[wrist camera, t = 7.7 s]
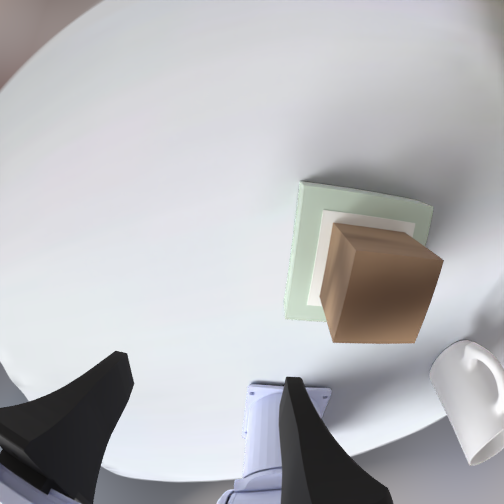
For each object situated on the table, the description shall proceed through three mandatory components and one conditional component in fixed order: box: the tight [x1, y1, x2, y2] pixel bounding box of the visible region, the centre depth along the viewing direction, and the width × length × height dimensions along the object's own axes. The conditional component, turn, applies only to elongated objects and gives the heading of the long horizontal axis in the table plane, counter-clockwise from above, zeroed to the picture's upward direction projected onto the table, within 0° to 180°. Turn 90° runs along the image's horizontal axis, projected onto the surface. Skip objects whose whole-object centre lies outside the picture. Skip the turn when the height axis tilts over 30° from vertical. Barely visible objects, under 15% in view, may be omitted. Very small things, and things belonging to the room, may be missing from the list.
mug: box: [429, 340, 504, 466], centre depth 17 cm, size 10×7×12 cm, turn 20°
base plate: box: [284, 181, 434, 322], centre depth 19 cm, size 9×9×3 cm
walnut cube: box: [319, 223, 444, 344], centre depth 15 cm, size 5×5×5 cm
